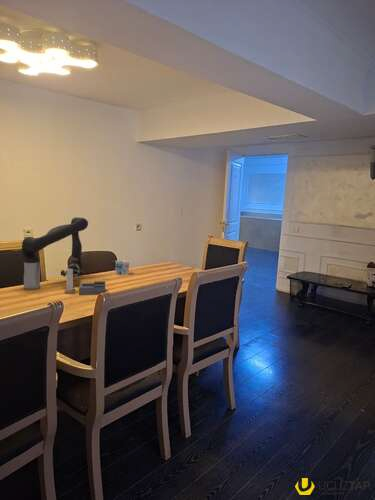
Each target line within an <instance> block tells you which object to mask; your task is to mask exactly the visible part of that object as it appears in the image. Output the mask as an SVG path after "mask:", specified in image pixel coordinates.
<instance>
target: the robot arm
mask: <svg viewBox="0 0 375 500" xmlns="http://www.w3.org/2000/svg"><path fill="white" fill-rule="evenodd" d="M88 226H89V221H88V219H86V218H85V217H73V218H72V219H71V220H70V223H68V224H63V225H62V224H61V225H58V226H55V227H53V228H51V229H49V230H48V232H47V233H45V235H42V236H38V237H32V236H31V237H25V238H24V239H23V240H22V243H21V252H22V259H23V264H24V265H23V267H24V271H23V272H24V273H23V289H26V290H27V289H28V290H36V289H39V288H41V271H40V268H41V267H40V264H41V263H40V261H41V260H40V257H39V256H38V255H37V254H36V253H37V252H40V251H41V250H43V249H45V248H46V247H48V246H50V245H52V244H54V243H57V242H59V241H62V240H64V239H66V238H67V237H69V236H71V257H72V258H74V259H77V260H70V261H68V264H67V269H73V277H76V276H77V277H79V276H84V270H83V267H84V264H83V259H82V251H83V249H82V248H83V246H82V242H81V239H80V234H79V232H82V231H84V230H86V229H87V228H88ZM67 269H66V270H64V269H62V270H61V271H60V276H62V277H67Z"/></svg>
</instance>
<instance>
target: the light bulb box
mask: <svg viewBox="0 0 375 500" xmlns="http://www.w3.org/2000/svg"><path fill="white" fill-rule="evenodd" d="M114 272H115V276H116V275H117V276H119V275H122V276H125V275H127V276H128V275H129V274H130V261H129V260H128V259H126V260H125V259H123V260H122V259H121V260H120V259H119V260H118V259H117V260H116V259H115V271H114Z"/></svg>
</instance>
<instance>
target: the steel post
mask: <svg viewBox="0 0 375 500" xmlns="http://www.w3.org/2000/svg"><path fill="white" fill-rule="evenodd" d="M66 270H67V275H66V288H65V289H64V290H63V291H64V294H75V293H76V288H74V276H73V269H68V268H67V269H66Z"/></svg>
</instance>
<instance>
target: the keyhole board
mask: <svg viewBox="0 0 375 500" xmlns="http://www.w3.org/2000/svg"><path fill="white" fill-rule="evenodd" d="M104 292H105V293H106V281H105V280H102V281H101V280H100V281H99V280H98V281H97V280H95V281H93V282H80V283H79V286H78V295H79V296H80V295H101V294H100V293H104Z"/></svg>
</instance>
